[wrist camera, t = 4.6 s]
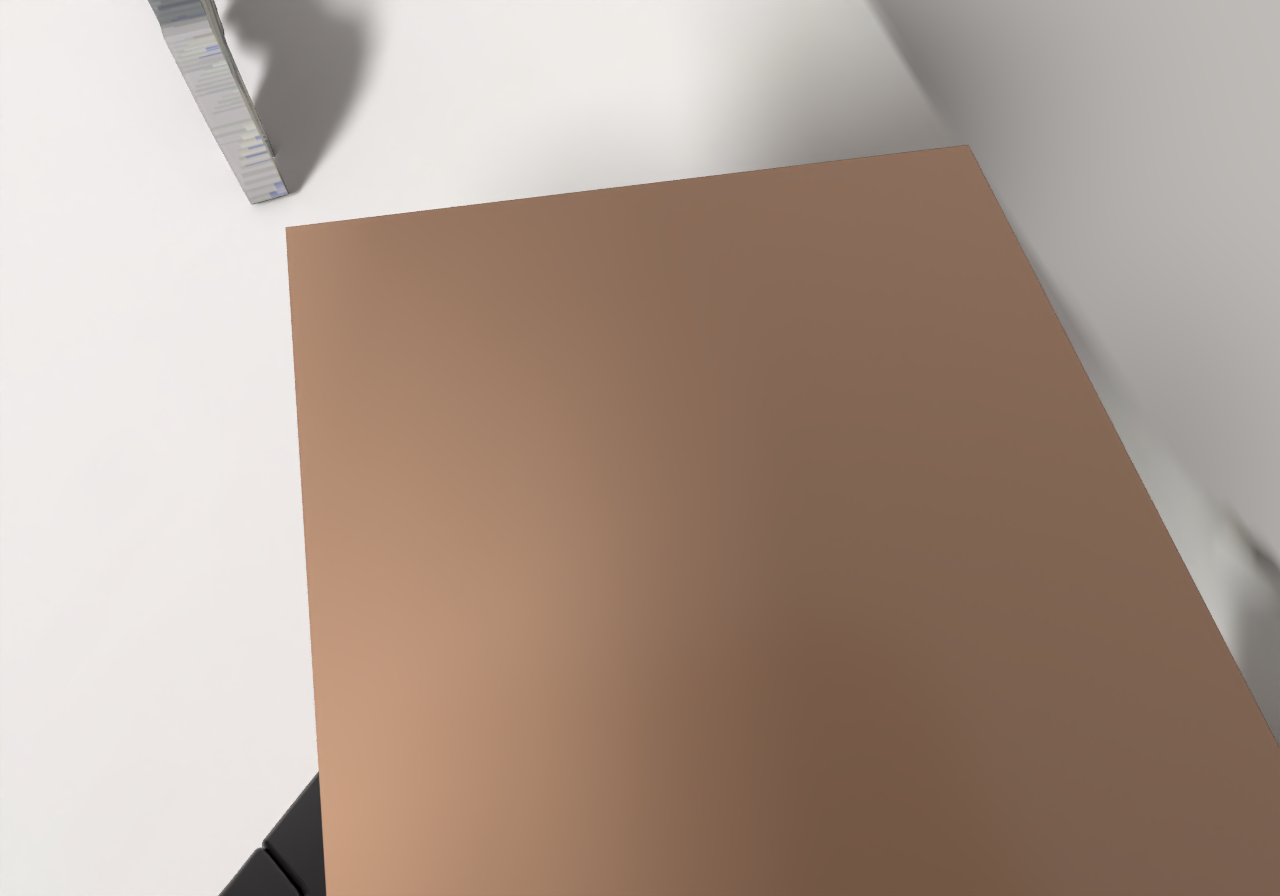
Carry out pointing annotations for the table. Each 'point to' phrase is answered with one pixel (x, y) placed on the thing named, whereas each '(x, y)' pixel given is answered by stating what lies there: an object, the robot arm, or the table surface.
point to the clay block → (745, 559)
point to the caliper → (220, 93)
